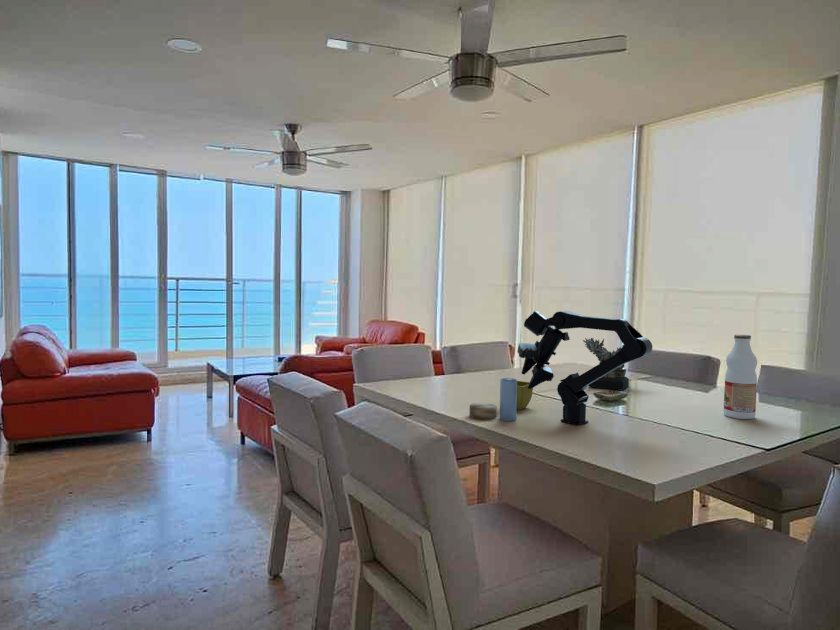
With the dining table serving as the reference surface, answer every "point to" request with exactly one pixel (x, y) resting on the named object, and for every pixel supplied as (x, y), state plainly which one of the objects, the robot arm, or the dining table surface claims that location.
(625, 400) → the dining table surface
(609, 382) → the coral
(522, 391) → the flower pot
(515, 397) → the vase
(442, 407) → the dining table surface
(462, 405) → the dining table surface
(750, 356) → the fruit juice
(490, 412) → the grey-beige round disc
